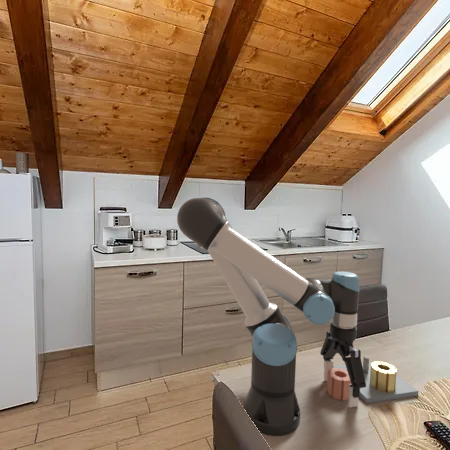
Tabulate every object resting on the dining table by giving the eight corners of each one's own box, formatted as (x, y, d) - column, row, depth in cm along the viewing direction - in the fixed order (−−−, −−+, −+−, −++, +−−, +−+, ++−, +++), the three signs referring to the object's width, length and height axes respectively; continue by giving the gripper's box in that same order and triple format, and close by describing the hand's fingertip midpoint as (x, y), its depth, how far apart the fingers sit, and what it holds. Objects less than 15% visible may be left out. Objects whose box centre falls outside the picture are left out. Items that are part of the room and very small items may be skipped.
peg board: (366, 403, 93) (367, 381, 92) (331, 370, 110) (333, 352, 110) (418, 395, 97) (419, 375, 96) (376, 365, 114) (378, 347, 114)
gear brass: (380, 393, 95) (382, 374, 94) (365, 380, 102) (366, 362, 101) (400, 391, 97) (402, 372, 96) (384, 378, 103) (385, 360, 103)
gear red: (335, 401, 93) (336, 381, 93) (322, 387, 100) (323, 369, 99) (356, 398, 95) (357, 379, 94) (342, 385, 102) (343, 366, 101)
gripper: (383, 341, 84) (378, 417, 86) (331, 309, 108) (328, 369, 110) (358, 343, 83) (354, 421, 85) (311, 310, 106) (308, 372, 108)
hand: (339, 392), depth 97 cm, fingers open, 12 cm apart
